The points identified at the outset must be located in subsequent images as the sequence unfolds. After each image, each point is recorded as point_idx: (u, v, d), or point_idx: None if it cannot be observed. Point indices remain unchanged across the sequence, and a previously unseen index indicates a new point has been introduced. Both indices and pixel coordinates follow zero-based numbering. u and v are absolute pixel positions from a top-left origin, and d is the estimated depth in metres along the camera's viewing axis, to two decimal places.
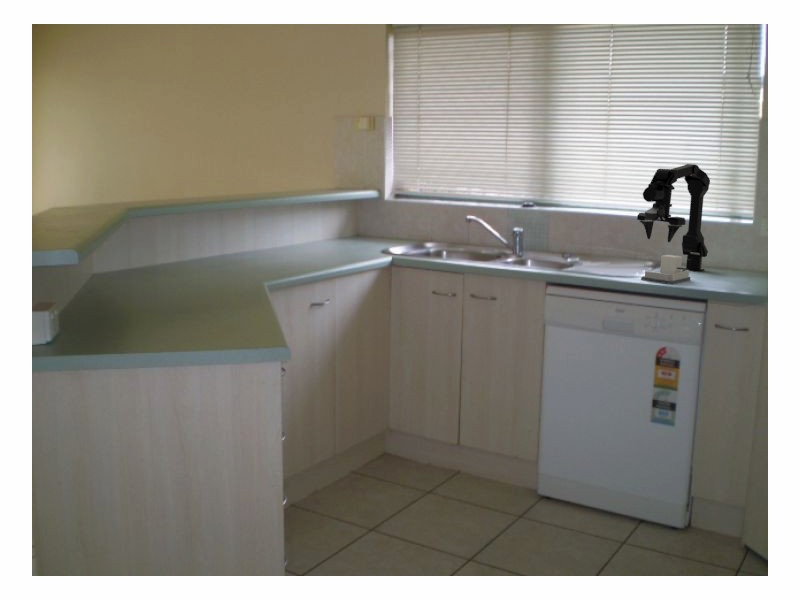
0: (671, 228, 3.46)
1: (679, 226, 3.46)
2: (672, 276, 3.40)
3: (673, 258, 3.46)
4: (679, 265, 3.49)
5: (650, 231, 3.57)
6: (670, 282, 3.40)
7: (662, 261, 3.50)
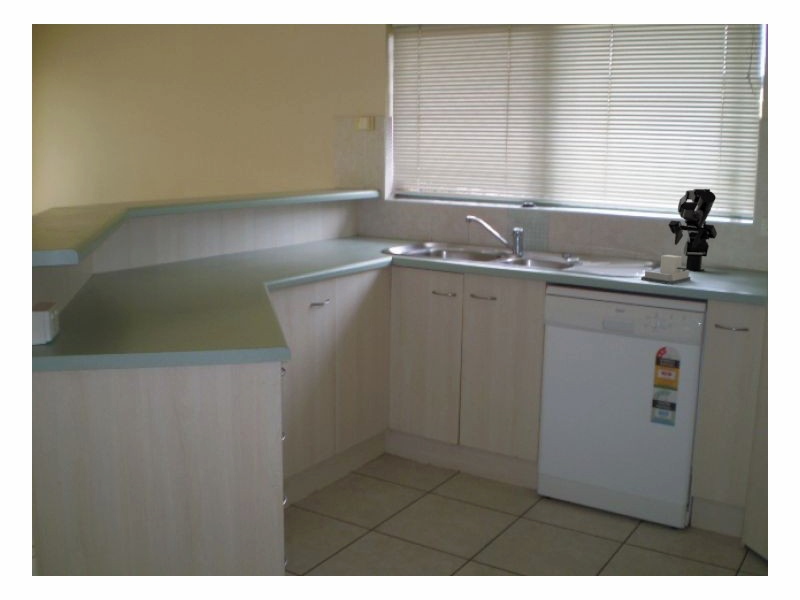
0: (701, 232, 3.52)
1: (707, 235, 3.53)
2: (672, 276, 3.40)
3: (673, 258, 3.46)
4: (679, 265, 3.49)
5: (678, 239, 3.59)
6: (670, 282, 3.40)
7: (662, 261, 3.50)
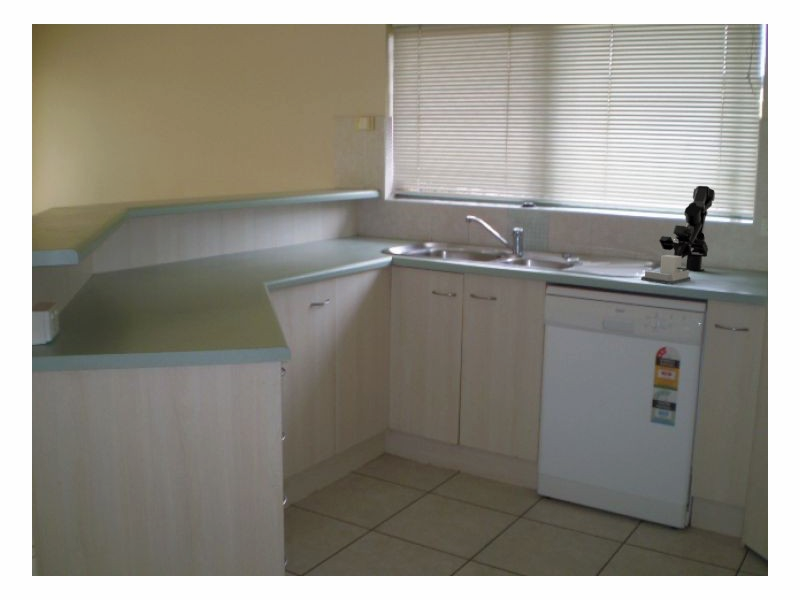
0: (683, 247, 3.51)
1: (690, 250, 3.52)
2: (672, 276, 3.40)
3: (673, 258, 3.46)
4: (679, 265, 3.49)
5: None
6: (670, 282, 3.40)
7: (662, 261, 3.50)
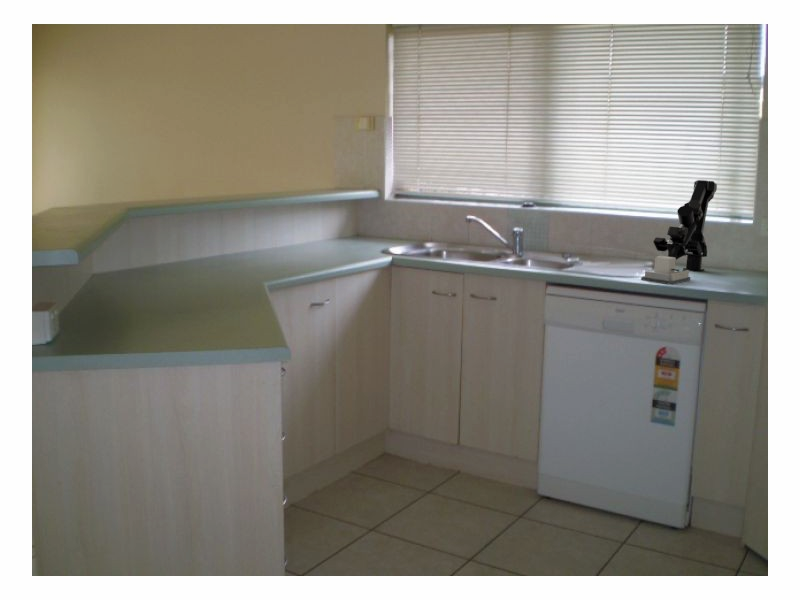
0: (677, 248, 3.48)
1: (684, 252, 3.49)
2: (672, 276, 3.40)
3: (667, 259, 3.43)
4: (673, 266, 3.46)
5: None
6: (670, 282, 3.40)
7: (656, 262, 3.46)
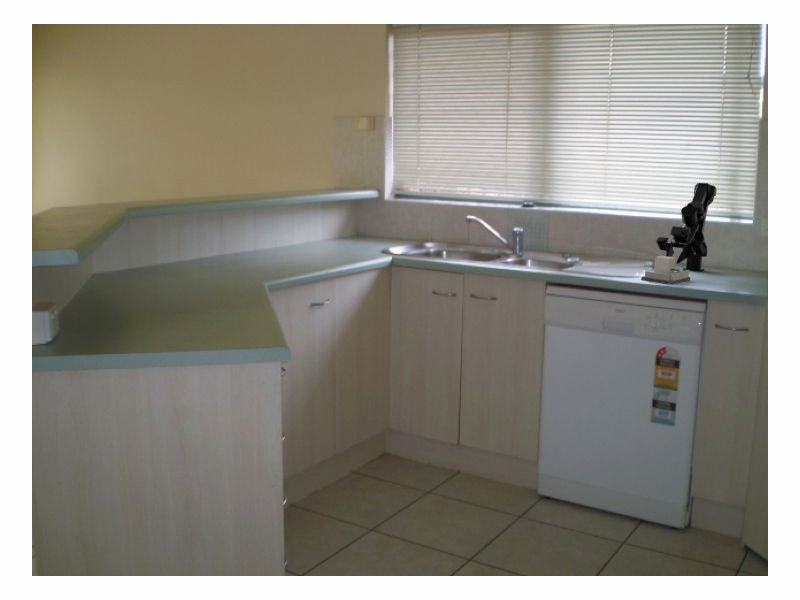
0: (685, 249, 3.48)
1: (692, 252, 3.49)
2: (672, 276, 3.40)
3: (667, 259, 3.43)
4: (673, 266, 3.46)
5: (669, 256, 3.53)
6: (670, 282, 3.40)
7: (656, 262, 3.46)
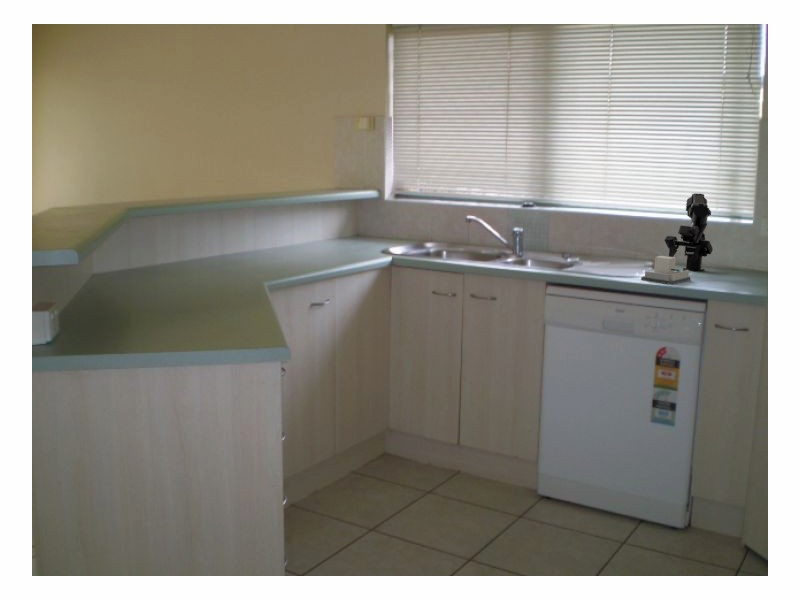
0: (698, 248, 3.52)
1: (705, 251, 3.52)
2: (672, 276, 3.40)
3: (667, 259, 3.43)
4: (673, 266, 3.46)
5: (672, 254, 3.60)
6: (670, 282, 3.40)
7: (656, 262, 3.46)
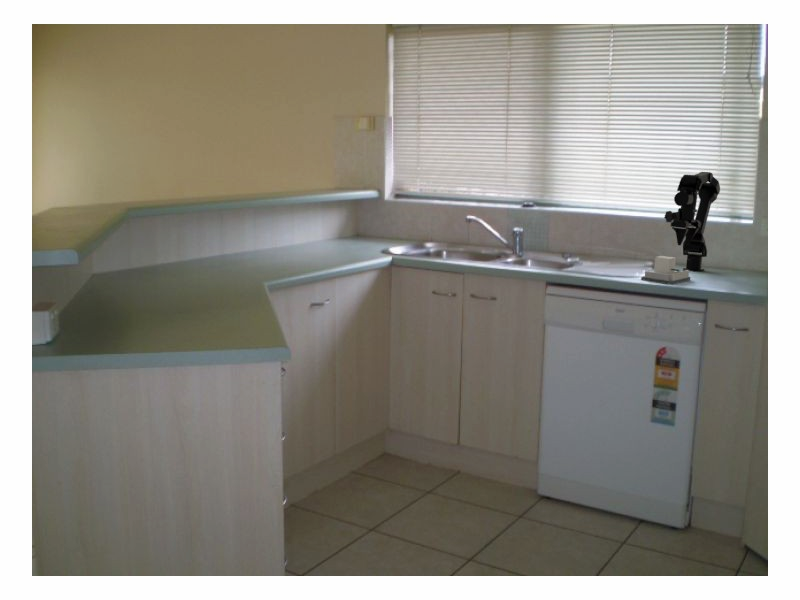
0: None
1: (680, 229, 3.52)
2: (672, 276, 3.40)
3: (667, 259, 3.43)
4: (673, 266, 3.46)
5: (689, 237, 3.63)
6: (670, 282, 3.40)
7: (656, 262, 3.46)
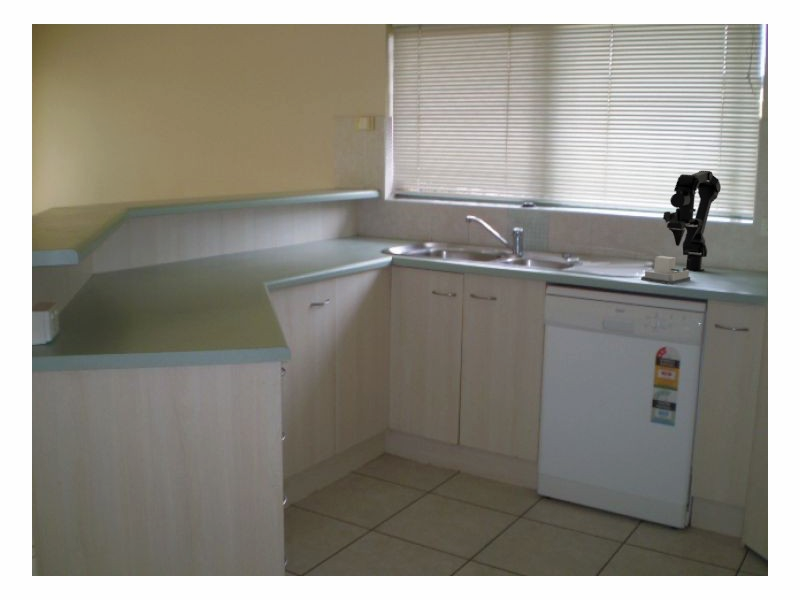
0: None
1: (676, 230, 3.53)
2: (672, 276, 3.40)
3: (667, 259, 3.43)
4: (673, 266, 3.46)
5: (690, 236, 3.63)
6: (670, 282, 3.40)
7: (656, 262, 3.46)
